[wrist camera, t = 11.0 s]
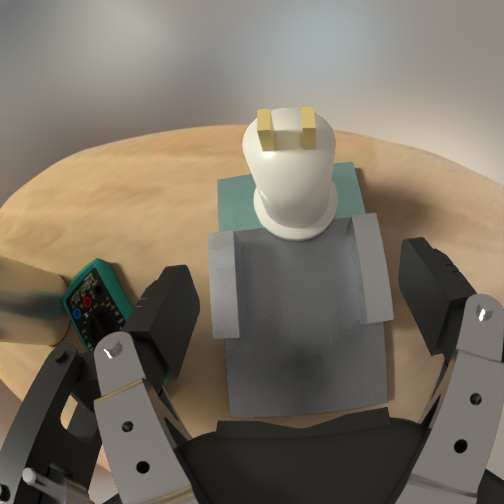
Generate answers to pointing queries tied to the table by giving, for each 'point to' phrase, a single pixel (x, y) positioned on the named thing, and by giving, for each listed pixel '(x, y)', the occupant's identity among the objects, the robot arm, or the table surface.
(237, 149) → the table surface
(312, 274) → the housing
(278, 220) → the plug
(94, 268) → the digital multimeter
